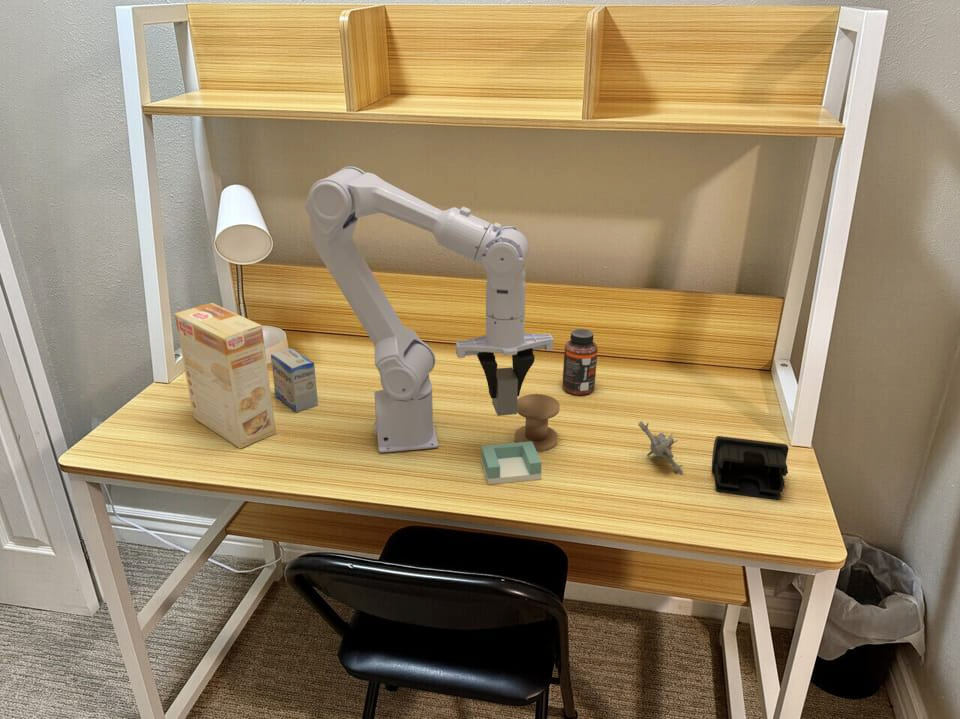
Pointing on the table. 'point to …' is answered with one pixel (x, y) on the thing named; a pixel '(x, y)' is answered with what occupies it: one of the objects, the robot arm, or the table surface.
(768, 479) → the end cap
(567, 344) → the supplement bottle
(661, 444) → the grey animal figure
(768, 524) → the table surface
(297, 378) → the medicine box
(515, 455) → the notch board
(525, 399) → the bobbin
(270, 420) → the coffeecake box
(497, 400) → the plug
